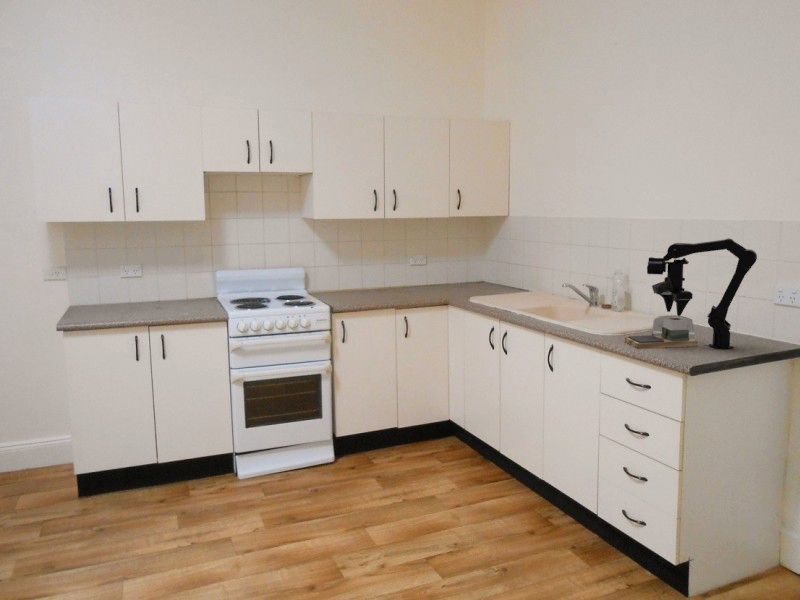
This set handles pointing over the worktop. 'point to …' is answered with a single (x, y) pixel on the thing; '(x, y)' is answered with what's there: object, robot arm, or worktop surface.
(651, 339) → the mat
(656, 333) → the grey arched bracket
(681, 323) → the collar
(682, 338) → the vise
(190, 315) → the worktop surface
